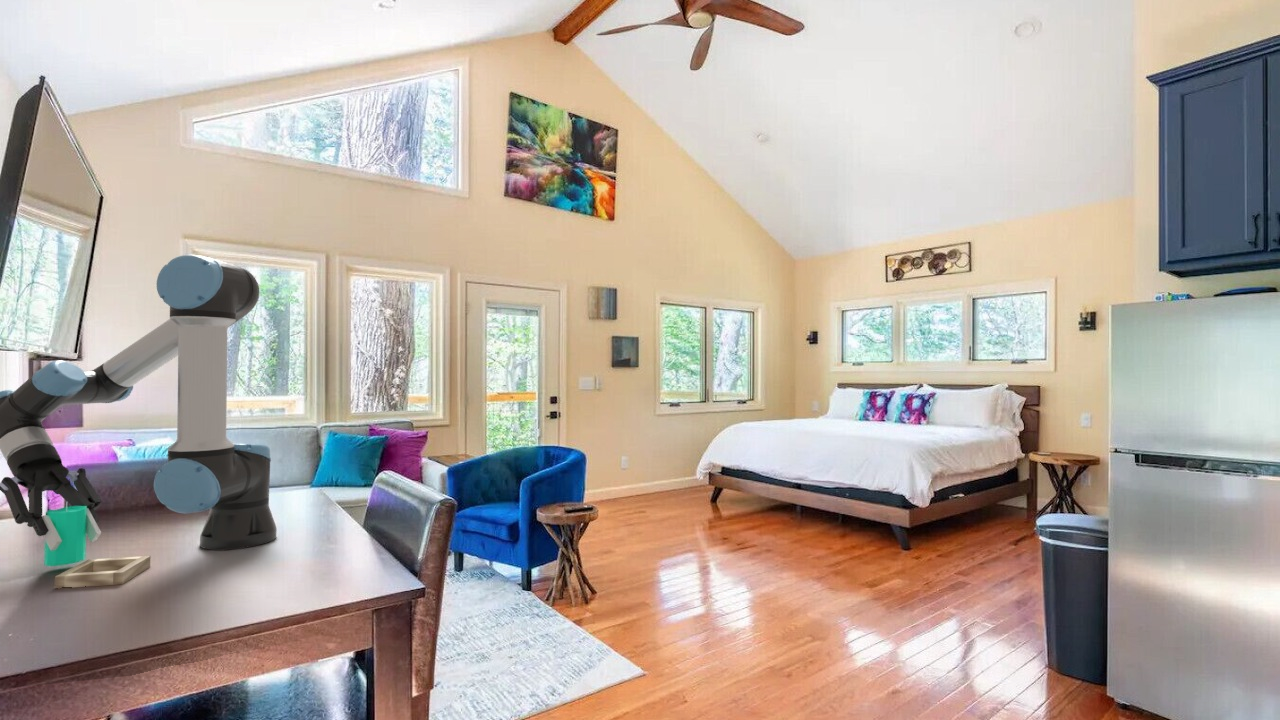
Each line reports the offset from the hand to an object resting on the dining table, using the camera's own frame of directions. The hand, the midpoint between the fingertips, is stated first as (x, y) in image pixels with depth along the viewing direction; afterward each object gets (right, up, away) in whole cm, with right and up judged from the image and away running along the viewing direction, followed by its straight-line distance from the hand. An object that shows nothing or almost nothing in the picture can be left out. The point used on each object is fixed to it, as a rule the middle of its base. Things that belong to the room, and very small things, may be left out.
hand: (76, 541), depth 121 cm
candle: (-3, -5, +1) cm, 6 cm away
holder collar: (+8, -6, -3) cm, 11 cm away
